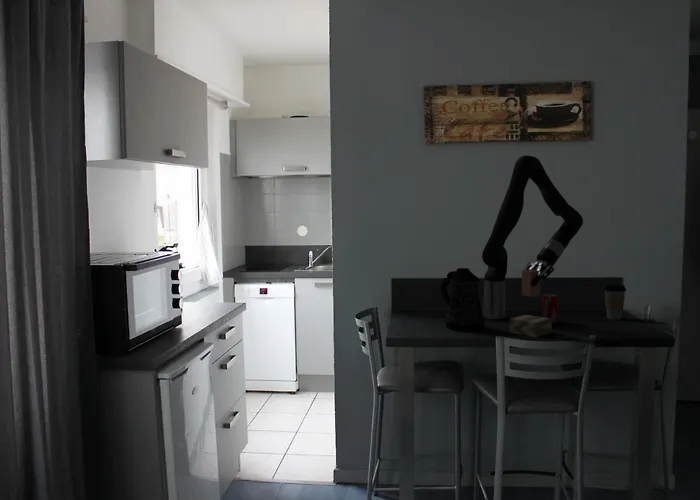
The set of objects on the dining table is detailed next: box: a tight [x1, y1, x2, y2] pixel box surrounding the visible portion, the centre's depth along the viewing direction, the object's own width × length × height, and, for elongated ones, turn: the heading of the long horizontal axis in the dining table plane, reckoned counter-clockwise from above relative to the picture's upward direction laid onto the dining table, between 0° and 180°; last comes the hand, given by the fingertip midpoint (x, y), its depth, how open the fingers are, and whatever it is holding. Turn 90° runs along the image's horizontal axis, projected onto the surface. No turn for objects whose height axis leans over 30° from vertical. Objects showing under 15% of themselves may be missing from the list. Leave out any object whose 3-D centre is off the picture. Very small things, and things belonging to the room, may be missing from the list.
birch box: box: [508, 314, 553, 338], centre depth 253 cm, size 12×12×6 cm
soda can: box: [540, 293, 559, 324], centre depth 273 cm, size 7×7×12 cm
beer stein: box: [439, 267, 486, 332], centre depth 264 cm, size 16×19×25 cm
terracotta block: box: [521, 269, 541, 298], centre depth 252 cm, size 5×5×10 cm
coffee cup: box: [603, 283, 627, 321], centre depth 280 cm, size 9×9×15 cm
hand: (527, 284), depth 251 cm, fingers closed on terracotta block, 5 cm apart
